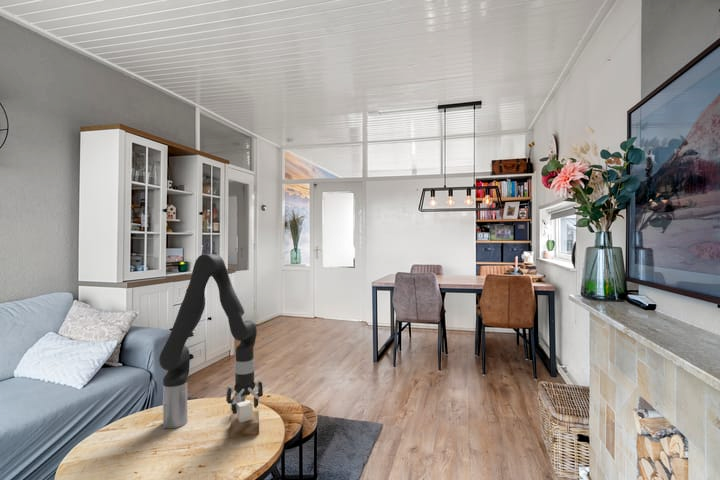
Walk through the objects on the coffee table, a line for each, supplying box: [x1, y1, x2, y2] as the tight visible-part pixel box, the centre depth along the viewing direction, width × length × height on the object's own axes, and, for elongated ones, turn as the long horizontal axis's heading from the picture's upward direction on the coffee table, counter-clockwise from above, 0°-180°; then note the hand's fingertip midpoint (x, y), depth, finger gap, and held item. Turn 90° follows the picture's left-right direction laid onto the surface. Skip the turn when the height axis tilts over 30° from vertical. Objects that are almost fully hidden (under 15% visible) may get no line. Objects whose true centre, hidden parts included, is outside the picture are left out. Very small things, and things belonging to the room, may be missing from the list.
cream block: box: [237, 399, 253, 422], centre depth 153 cm, size 5×5×6 cm
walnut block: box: [229, 410, 260, 439], centre depth 154 cm, size 11×11×5 cm
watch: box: [232, 395, 248, 414], centre depth 168 cm, size 6×8×11 cm
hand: (244, 409), depth 154 cm, fingers open, 8 cm apart
